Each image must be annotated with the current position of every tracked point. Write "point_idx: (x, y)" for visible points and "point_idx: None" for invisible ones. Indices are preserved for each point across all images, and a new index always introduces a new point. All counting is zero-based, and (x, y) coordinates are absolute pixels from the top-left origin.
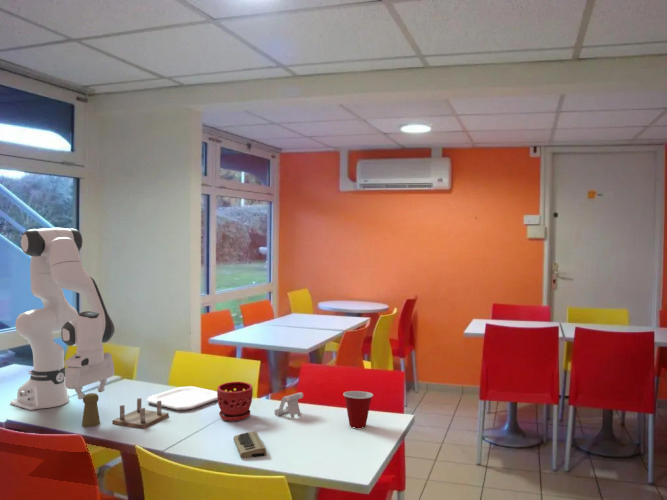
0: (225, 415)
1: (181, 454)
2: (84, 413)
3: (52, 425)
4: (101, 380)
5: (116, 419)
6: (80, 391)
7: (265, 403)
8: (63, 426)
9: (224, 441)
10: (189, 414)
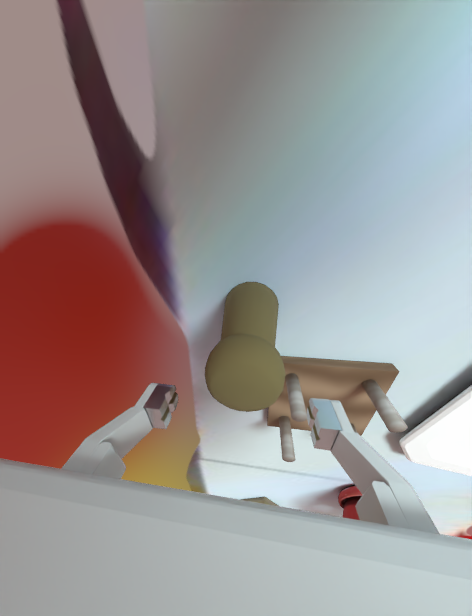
0: (350, 498)
1: (202, 472)
2: (223, 322)
3: (181, 183)
4: (369, 511)
5: (284, 367)
6: (118, 450)
7: (458, 513)
8: (195, 239)
9: (258, 491)
10: (376, 450)
